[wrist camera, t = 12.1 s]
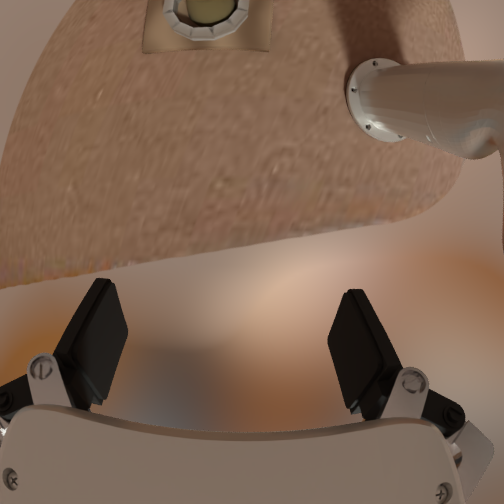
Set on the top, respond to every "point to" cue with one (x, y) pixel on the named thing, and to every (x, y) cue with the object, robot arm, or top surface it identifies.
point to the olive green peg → (210, 11)
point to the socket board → (207, 28)
